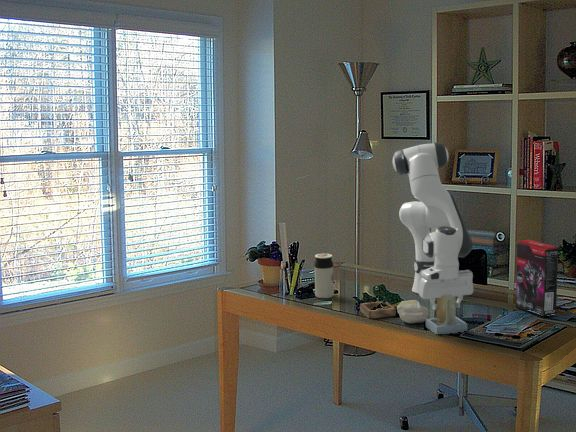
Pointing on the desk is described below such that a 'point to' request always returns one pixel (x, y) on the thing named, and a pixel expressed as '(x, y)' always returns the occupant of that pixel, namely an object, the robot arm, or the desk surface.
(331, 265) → the travel mug
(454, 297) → the skincare box
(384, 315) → the tray
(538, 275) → the graphics card box
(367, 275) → the desk surface
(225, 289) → the desk surface
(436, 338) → the desk surface
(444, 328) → the slate tray
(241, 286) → the desk surface
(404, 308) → the fossil replica
